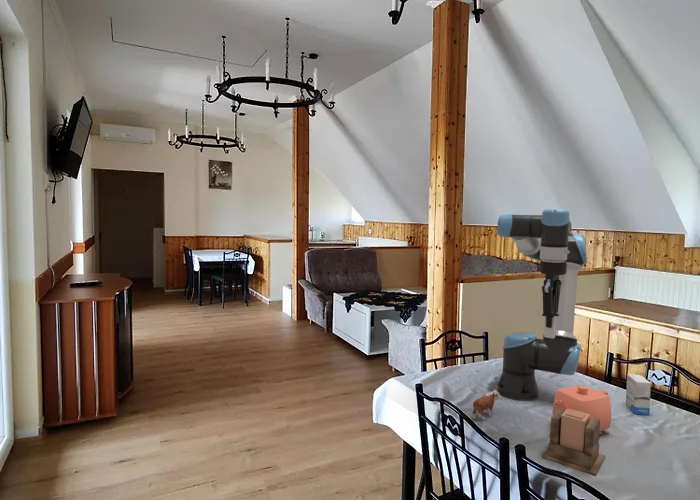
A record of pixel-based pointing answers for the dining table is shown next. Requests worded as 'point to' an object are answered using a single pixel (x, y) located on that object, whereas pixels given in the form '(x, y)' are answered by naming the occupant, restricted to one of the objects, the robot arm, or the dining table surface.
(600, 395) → the teapot
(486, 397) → the bull figurine
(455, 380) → the dining table surface
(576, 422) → the block
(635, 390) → the ink box
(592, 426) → the wooden slotted stand
